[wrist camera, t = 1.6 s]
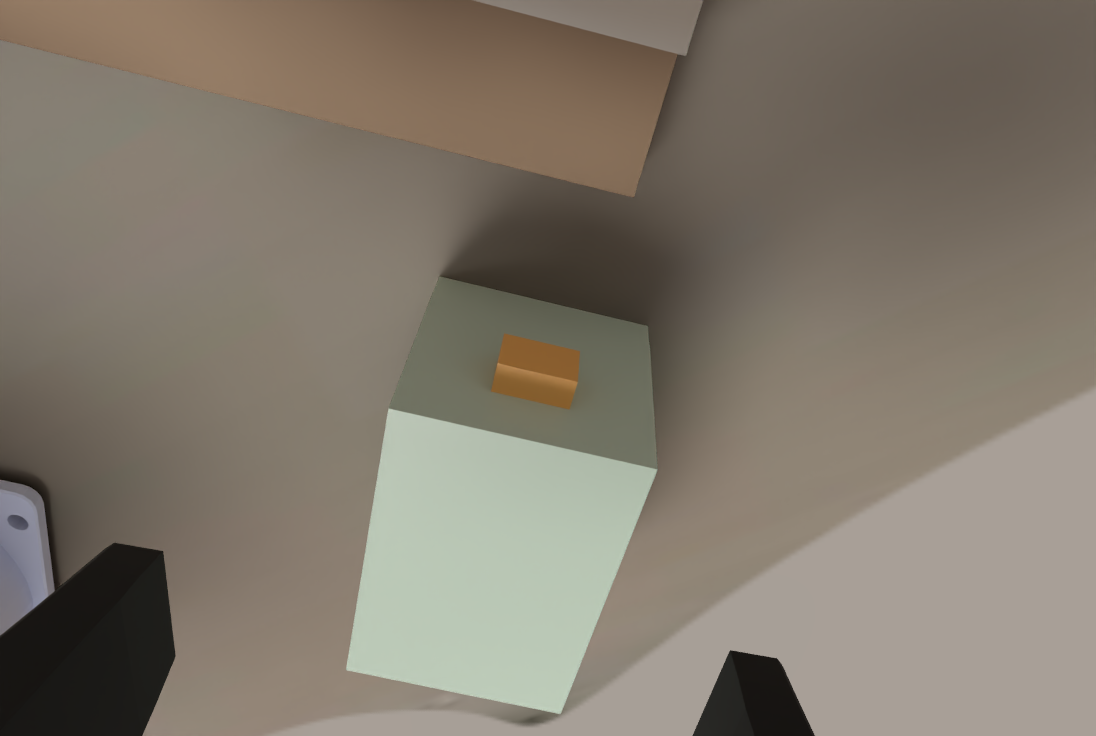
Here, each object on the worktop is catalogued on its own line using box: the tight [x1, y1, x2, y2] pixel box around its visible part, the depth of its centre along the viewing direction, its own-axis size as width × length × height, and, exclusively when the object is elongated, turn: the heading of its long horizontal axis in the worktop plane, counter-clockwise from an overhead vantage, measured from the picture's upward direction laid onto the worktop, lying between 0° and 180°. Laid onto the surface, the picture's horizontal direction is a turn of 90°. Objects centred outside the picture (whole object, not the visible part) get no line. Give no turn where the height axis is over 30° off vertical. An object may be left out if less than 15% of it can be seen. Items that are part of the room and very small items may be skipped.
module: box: [346, 276, 658, 714], centre depth 18 cm, size 7×4×5 cm, turn 167°
